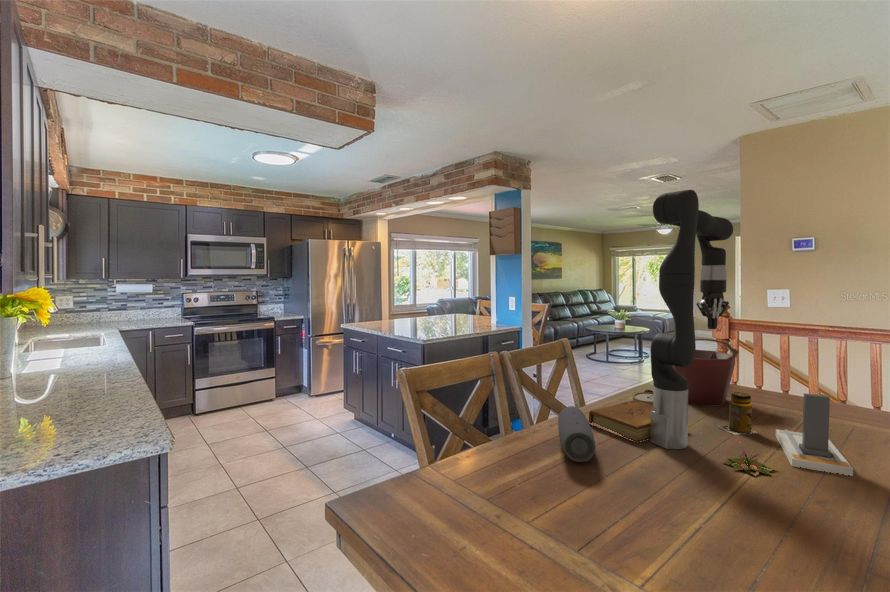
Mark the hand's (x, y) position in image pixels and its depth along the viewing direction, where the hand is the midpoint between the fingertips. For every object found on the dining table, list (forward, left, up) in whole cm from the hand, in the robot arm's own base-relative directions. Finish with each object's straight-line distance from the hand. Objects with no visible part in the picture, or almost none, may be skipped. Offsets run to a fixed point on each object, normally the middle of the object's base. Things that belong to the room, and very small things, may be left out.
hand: (712, 328), depth 146 cm
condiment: (-1, -10, -32) cm, 34 cm away
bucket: (+18, +18, -32) cm, 41 cm away
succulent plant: (-24, -29, -33) cm, 50 cm away
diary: (-29, +5, -33) cm, 44 cm away
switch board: (0, -30, -32) cm, 44 cm away
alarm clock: (-4, +22, -32) cm, 39 cm away
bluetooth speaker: (-59, -3, -32) cm, 67 cm away
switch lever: (-4, -33, -30) cm, 45 cm away
